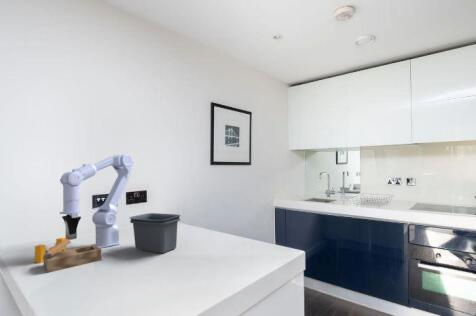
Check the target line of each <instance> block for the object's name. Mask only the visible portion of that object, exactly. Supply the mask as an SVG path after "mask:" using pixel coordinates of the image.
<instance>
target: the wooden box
mask: <svg viewBox="0 0 476 316" xmlns="http://www.w3.org/2000/svg"><path fill="white" fill-rule="evenodd" d="M47 250H48V249H47ZM48 251H49V250H48ZM48 251H45V253H46V252H48ZM100 261H102V248H98V247H97V246H96V245H93V244H89V245H86V246H85V245H84V246H81V247H80V246H79V247H75V248H71V249H66V250H64V251H59V252H57V253H55V254H54V255H52V256H51V254H47V257H46V255H45V254H44V262H43V266H44V268H45V270H46V273H51V272H52V273H53V272H56V271H61V270H64V269H69V268H73V267H77V266H82V265H85V264H90V263H96V262H100Z"/></svg>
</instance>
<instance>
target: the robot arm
mask: <svg viewBox="0 0 476 316" xmlns="http://www.w3.org/2000/svg"><path fill="white" fill-rule="evenodd" d="M133 164H135V163H134V160H133V157H132V156H131V155H130V154H128V153H125V154H114V155H112V156H108V157H106V158H104V159H102V160H100V161H98V162H96V163H94V164H91V163H84V164H82V166H80V167H78V168H72V171H68V172H65V173H62V175H61V177H60V179H59V182H60V184H61V185H62V189H63V190H62V193H63V194H62V203H63V205H62V206H63V207H62V210H63V211H59V214H60V215H63V216H61V218H62V220H63V222H64V223H65V220H66V222H67V225H68V231H69V234H70V235H71V234H76V230H77V231H78V225H79V222H80V220H81V219H82V216H79V213H80V212H81V210H80V185H81V183H82V182H83V181H85V180H88V179H90V178H92V177H95V175H96V174H97V172H98V171H101V170H103V169H105V168H108V167H110V166H111V167H112V168H113V169H114V171H115V172H116V173H117V177H116V178H115V181H114V183H113V185H112V187H111V189H110V191H109V192H108V195H107V198H106V199H105V201H104V203H103V204H102V205H101V206H99V207H98V209H97V211H96V212H94V213H93V215H92V218H91V219H92V223H94V227H95V243H93V244H92V245H96V246H97V247H98V248H100V249H103V248H107V247H112V246H117V245H120V233H119V232H120V230H119V225H118V224H115V223H116V220H117V214H118V210H117V207H118V204H119V201H120V199H121V197H122V195H123V194H124V190H125V189H126V187H127V185H128V183H129V180H130V178H131V176H132V167H133Z"/></svg>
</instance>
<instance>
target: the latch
mask: <svg viewBox="0 0 476 316" xmlns="http://www.w3.org/2000/svg"><path fill="white" fill-rule="evenodd" d="M70 244H72V241H71V240H69V239H66V238H65V241H63V242H62V243H60V244H59V245H57V246H56V247H54V248H53V249H51V250H50V251H48V252H46V253H45V255H46V257H47V254H51V256H52V255H54V254H55V253H57V252H58V251H60V250H61V249H62V248H64V247H65V246H66V247H67V246H68V245H70Z"/></svg>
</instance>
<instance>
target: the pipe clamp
mask: <svg viewBox="0 0 476 316" xmlns="http://www.w3.org/2000/svg"><path fill="white" fill-rule="evenodd" d="M65 240H66V237H59V238H56V241H55V244H54V246H51V247H48V249H47V248H46V244H37V245H34V263H35V264H38V263H39V264H42V263H44V254H45V251H48V250H49V251H50V250H51V249H53V248H54V247H56V246H57V245H59V244H60V243H62V242H63V241H65ZM66 247H67V246H65V247H64V248H62V249H61V250H60V251H64V250H67V248H66ZM58 252H59V251H58Z"/></svg>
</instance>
